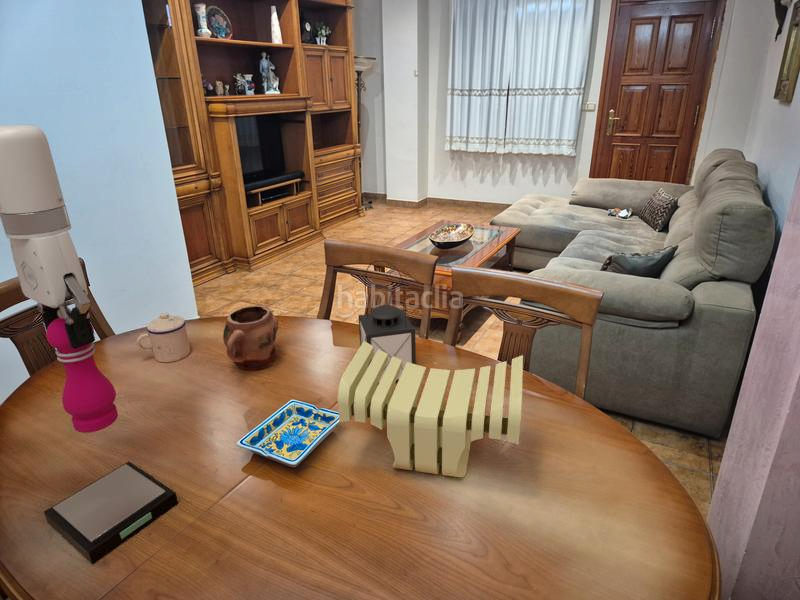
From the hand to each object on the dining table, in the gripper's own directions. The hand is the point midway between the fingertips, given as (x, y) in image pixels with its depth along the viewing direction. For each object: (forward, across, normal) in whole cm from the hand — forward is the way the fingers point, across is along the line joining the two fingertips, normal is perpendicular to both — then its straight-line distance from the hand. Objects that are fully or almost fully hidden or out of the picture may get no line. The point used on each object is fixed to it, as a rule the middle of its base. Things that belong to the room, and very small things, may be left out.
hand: (71, 338), depth 76 cm
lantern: (+29, +17, +57) cm, 66 cm away
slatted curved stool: (+29, +41, +37) cm, 63 cm away
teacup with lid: (+30, -36, +34) cm, 58 cm away
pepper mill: (+15, 0, 0) cm, 15 cm away
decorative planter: (+30, -13, +42) cm, 53 cm away
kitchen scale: (+29, +4, -3) cm, 30 cm away
